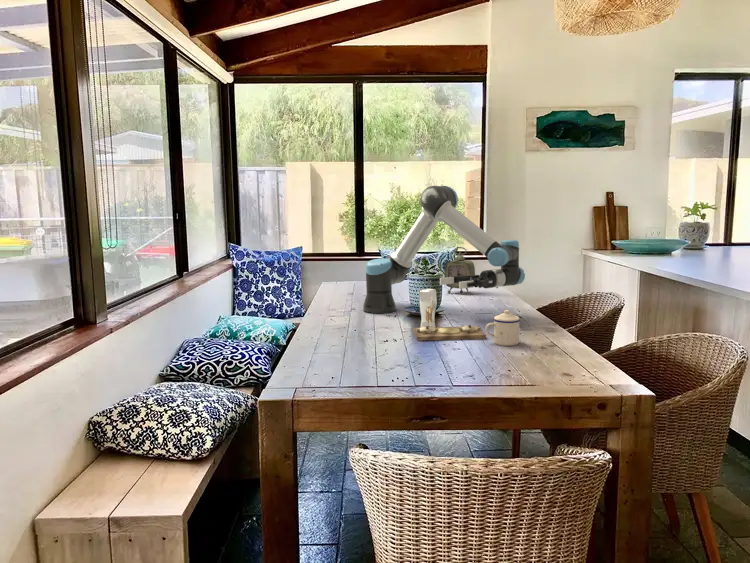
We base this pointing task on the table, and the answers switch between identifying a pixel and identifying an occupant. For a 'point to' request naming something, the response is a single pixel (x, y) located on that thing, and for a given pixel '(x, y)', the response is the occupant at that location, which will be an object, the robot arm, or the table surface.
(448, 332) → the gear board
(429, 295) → the beer glass
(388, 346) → the table surface
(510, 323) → the teacup with lid
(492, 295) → the table surface
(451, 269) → the tabletop clock
